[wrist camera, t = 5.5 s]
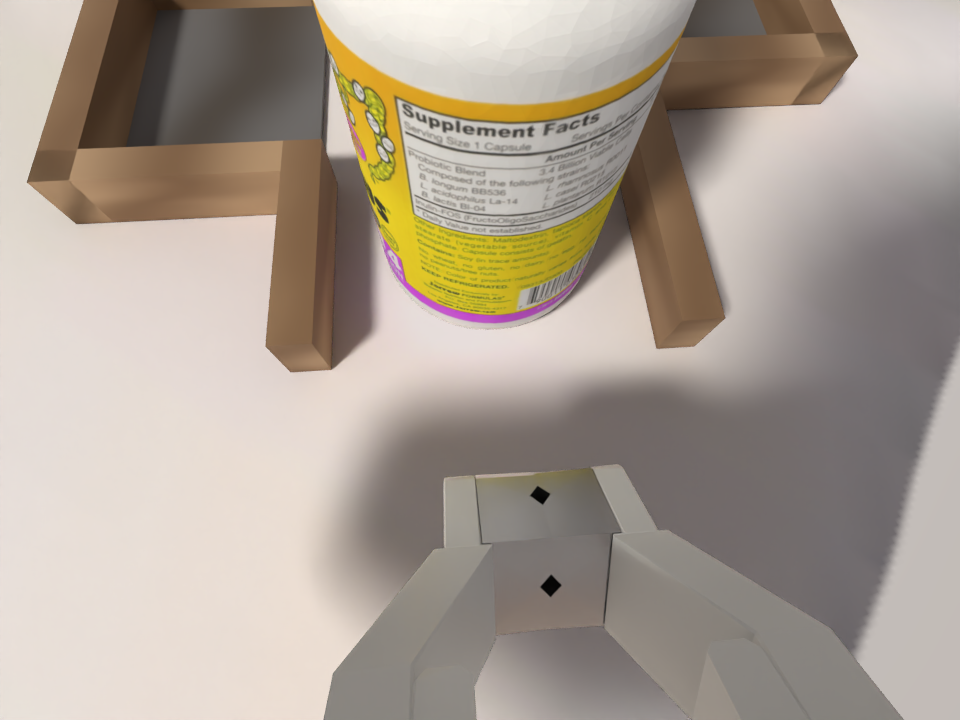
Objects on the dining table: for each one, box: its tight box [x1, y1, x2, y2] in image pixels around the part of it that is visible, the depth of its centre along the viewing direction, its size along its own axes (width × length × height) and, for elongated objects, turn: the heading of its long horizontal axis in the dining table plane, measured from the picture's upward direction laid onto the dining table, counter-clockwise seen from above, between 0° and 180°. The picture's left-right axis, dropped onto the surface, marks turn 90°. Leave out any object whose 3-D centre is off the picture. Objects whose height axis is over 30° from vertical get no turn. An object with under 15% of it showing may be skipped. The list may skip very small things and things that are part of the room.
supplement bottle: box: [313, 0, 696, 330], centre depth 11 cm, size 7×7×13 cm
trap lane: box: [27, 0, 858, 372], centre depth 19 cm, size 27×27×3 cm
